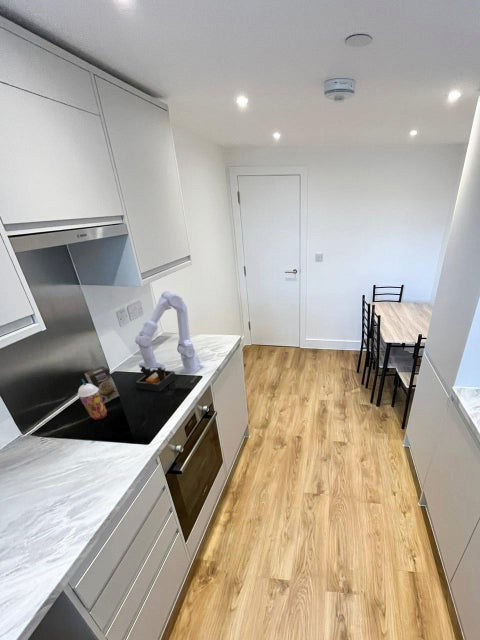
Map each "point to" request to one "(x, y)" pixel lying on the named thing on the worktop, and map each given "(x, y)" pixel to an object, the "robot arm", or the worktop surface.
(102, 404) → the smoothie
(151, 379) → the snack box
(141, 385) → the dark grey tray
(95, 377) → the coffee box
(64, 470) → the worktop surface
